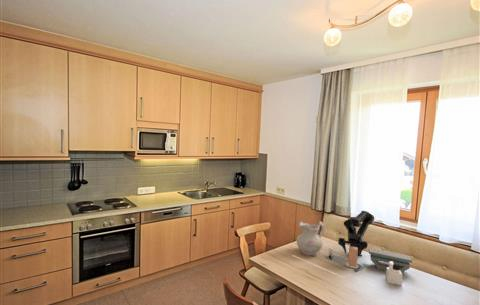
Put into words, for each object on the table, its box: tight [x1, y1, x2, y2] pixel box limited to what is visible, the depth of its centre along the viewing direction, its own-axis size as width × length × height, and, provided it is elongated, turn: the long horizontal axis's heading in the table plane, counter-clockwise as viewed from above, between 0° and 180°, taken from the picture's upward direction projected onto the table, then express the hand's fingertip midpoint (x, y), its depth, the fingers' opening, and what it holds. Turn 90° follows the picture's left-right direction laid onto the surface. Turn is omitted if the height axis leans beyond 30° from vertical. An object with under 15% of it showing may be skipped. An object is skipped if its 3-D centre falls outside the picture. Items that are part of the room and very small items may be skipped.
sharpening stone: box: [368, 247, 413, 274], centre depth 170 cm, size 25×8×11 cm, turn 63°
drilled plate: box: [325, 254, 364, 273], centre depth 176 cm, size 11×23×1 cm, turn 42°
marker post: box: [347, 245, 359, 267], centre depth 172 cm, size 5×5×12 cm
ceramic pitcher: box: [296, 220, 325, 256], centre depth 191 cm, size 22×20×25 cm
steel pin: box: [328, 248, 334, 257], centre depth 184 cm, size 2×2×6 cm
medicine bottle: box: [385, 261, 403, 286], centre depth 154 cm, size 7×7×12 cm
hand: (352, 254), depth 171 cm, fingers open, 9 cm apart
